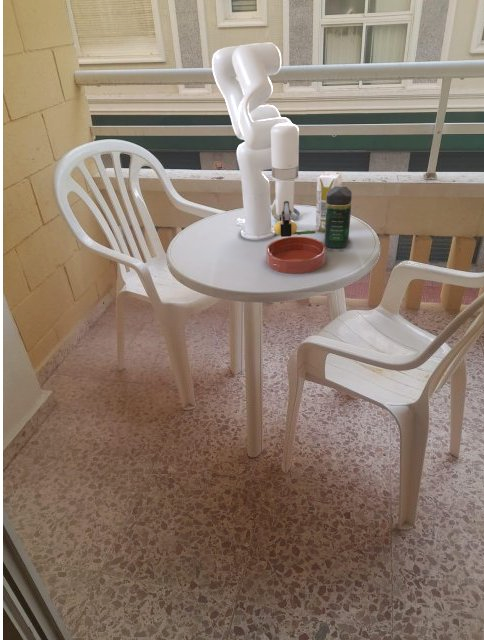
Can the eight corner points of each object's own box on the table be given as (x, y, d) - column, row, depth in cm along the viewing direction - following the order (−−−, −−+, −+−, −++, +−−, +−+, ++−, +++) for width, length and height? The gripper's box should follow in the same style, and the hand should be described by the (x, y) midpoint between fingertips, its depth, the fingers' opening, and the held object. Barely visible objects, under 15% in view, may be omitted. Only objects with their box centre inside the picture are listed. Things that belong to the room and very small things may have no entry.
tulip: (274, 238, 137) (274, 224, 134) (273, 231, 141) (273, 218, 138) (316, 236, 137) (317, 222, 134) (314, 229, 141) (315, 216, 138)
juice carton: (314, 231, 162) (315, 177, 151) (320, 222, 168) (322, 170, 157) (335, 233, 159) (337, 178, 148) (340, 224, 166) (343, 171, 155)
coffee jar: (347, 251, 147) (351, 194, 137) (322, 249, 149) (324, 193, 138) (349, 238, 155) (353, 184, 144) (326, 237, 157) (328, 183, 146)
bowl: (256, 268, 141) (255, 255, 138) (283, 245, 154) (282, 233, 151) (310, 279, 133) (311, 266, 130) (334, 254, 146) (334, 241, 143)
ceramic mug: (270, 220, 172) (270, 201, 168) (274, 213, 179) (273, 193, 174) (298, 222, 170) (298, 201, 166) (301, 214, 177) (301, 194, 172)
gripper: (270, 163, 134) (272, 222, 145) (272, 182, 121) (274, 245, 132) (295, 162, 134) (295, 221, 145) (301, 181, 120) (300, 244, 131)
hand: (285, 232), depth 138 cm, fingers closed on tulip, 4 cm apart
